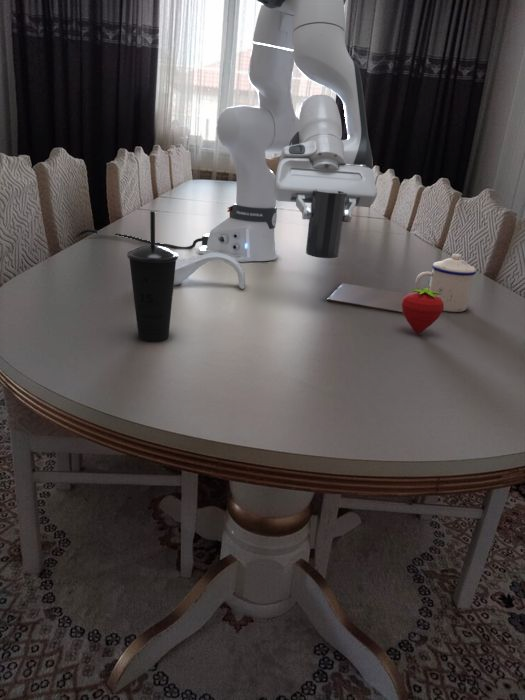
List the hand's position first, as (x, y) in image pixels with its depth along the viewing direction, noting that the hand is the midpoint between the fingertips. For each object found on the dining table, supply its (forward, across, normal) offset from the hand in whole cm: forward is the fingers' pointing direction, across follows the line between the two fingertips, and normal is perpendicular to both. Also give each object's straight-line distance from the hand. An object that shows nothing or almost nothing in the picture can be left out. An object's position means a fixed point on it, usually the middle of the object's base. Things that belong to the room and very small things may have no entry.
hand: (327, 219), depth 99 cm
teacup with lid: (+8, -29, -18) cm, 35 cm away
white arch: (+2, +25, -24) cm, 35 cm away
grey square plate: (+5, -14, -20) cm, 26 cm away
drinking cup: (+26, +31, 0) cm, 40 cm away
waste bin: (+4, 0, -5) cm, 7 cm away
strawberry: (+21, -17, -5) cm, 27 cm away
